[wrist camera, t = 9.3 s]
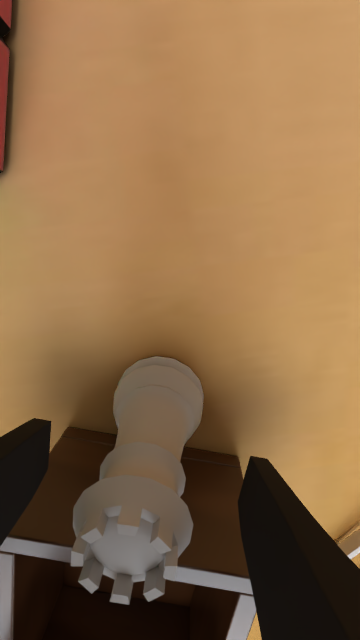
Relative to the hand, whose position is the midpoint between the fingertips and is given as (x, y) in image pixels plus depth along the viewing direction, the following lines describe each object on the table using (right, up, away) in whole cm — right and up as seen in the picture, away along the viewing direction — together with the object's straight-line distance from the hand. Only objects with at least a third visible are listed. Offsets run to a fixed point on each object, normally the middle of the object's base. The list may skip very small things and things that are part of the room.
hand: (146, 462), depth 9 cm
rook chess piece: (0, +1, +5) cm, 5 cm away
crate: (-1, -7, +7) cm, 10 cm away
